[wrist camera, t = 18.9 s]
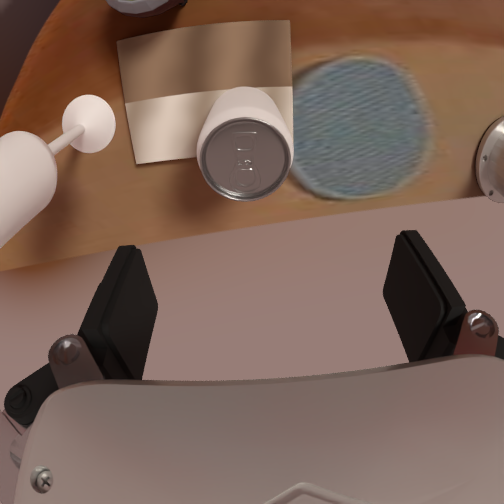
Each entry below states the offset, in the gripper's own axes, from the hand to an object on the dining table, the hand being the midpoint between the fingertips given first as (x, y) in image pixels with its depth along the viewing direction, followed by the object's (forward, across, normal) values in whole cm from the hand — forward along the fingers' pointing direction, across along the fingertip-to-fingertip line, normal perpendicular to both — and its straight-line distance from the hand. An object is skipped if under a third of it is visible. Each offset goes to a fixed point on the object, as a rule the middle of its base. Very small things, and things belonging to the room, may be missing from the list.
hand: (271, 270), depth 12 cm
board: (+23, +4, -3) cm, 24 cm away
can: (+22, +1, 0) cm, 22 cm away
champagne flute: (+23, +18, -2) cm, 29 cm away
